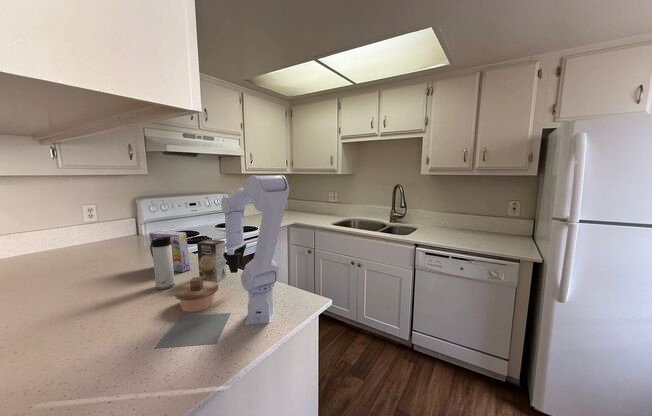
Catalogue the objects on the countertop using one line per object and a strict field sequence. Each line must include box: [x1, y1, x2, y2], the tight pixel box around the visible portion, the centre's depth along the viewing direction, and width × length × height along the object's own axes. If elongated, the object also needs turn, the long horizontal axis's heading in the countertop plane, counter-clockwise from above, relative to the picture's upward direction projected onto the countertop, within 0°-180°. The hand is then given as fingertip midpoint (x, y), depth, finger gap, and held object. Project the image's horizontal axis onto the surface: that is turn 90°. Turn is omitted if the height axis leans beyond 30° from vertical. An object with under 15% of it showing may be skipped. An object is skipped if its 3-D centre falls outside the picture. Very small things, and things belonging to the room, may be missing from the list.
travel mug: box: [152, 236, 176, 291], centre depth 102 cm, size 6×7×20 cm
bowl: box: [179, 293, 216, 313], centre depth 88 cm, size 10×10×5 cm
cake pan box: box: [148, 229, 191, 273], centre depth 121 cm, size 19×5×18 cm, turn 70°
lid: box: [174, 276, 219, 301], centre depth 87 cm, size 13×13×4 cm
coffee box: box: [196, 238, 227, 283], centre depth 110 cm, size 9×6×16 cm
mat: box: [153, 312, 232, 350], centre depth 74 cm, size 15×15×1 cm
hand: (236, 268), depth 93 cm, fingers open, 7 cm apart
